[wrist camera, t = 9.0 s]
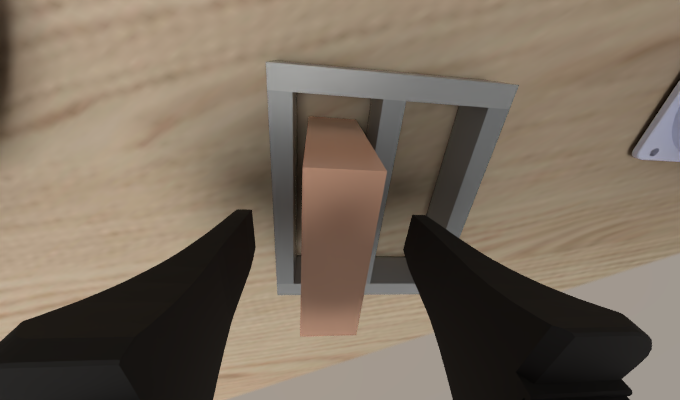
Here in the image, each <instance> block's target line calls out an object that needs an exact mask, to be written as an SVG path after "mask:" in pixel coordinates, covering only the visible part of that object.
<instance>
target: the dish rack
mask: <svg viewBox="0 0 680 400" xmlns="http://www.w3.org/2000/svg"><path fill="white" fill-rule="evenodd" d="M266 74H267V94H268V114H269V134H270V154H271V174H272V194H273V214H274V234H275V254H276V274H277V294H278V295H301V256H296V144H297V92H298V93H311V94H323V95H336V96H348V97H361V98H371V105H370V112H369V120H368V127H367V135H366V137H367V139H368V141H369V142H370V144H371V146H372V147H373V149H374V150H375V152H376V154H377V155H378V157H379V159H380V160H381V162H382V164H383V165H384V167H385V169H386V170H387V174H386V180H385V185H384V190H383V196H382V201H381V206H380V212H379V217H378V222H377V228H376V233H375V238H374V243H373V249H372V254H371V259H370V265H369V270H368V275H367V281H366V286H365V291H364V295H367V294H419V292H418V290H417V287H416V285H415V283H414V280H413V278H412V276H411V273H410V271H409V268H408V265H407V262H406V258H405V257H375V255H376V250H377V245H378V240H379V235H380V230H381V225H382V220H383V215H384V210H385V205H386V200H387V195H388V190H389V185H390V180H391V175H392V170H393V165H394V160H395V155H396V150H397V145H398V140H399V135H400V130H401V125H402V120H403V115H404V110H405V105H406V101H411V102H423V103H436V104H448V105H459V108H458V112H457V115H456V118H455V122H454V125H453V128H452V132H451V135H450V139H449V142H448V145H447V149H446V152H445V155H444V159H443V162H442V166H441V169H440V172H439V176H438V179H437V182H436V186H435V189H434V192H433V196H432V199H431V203H430V206H429V209H428V213H427V217H429V218H431V219H432V220H434V221H435V222H437V223H438V224H439V225H441V226H442V227H444V228H445V229H447V230H448V231H449V232H451V233H452V234H454V235H455V236H456V237H458V238H459V237H460V235H461V232H462V230H463V227H464V224H465V222H466V219H467V217H468V214H469V212H470V209H471V207H472V204H473V201H474V199H475V196H476V194H477V191H478V189H479V186H480V184H481V181H482V178H483V176H484V173H485V171H486V168H487V166H488V163H489V161H490V158H491V155H492V153H493V150H494V148H495V145H496V143H497V140H498V137H499V135H500V132H501V130H502V127H503V125H504V122H505V120H506V117H507V114H508V112H509V109H510V107H511V104H512V102H513V99H514V97H515V94H516V91H517V89H518V86H519V85H515V84H508V83H502V82H495V81H489V80H480V79H469V78H458V77H447V76H437V75H426V74H415V73H404V72H394V71H383V70H372V69H361V68H350V67H340V66H329V65H318V64H307V63H297V62H286V61H269V62H266Z"/></svg>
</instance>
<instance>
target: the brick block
mask: <svg viewBox="0 0 680 400" xmlns="http://www.w3.org/2000/svg"><path fill="white" fill-rule="evenodd" d="M386 174H387V170H386V169H385V167H384V165H383V164H382V162H381V160H380V159H379V157H378V155H377V154H376V152H375V150H374V149H373V147H372V146H371V144H370V142H369V141H368V139H367V137H366V136H365V134H364V132H363V131H362V129H361V127H360V126H359V124H358V122H357V121H356V120H354V119H340V118H326V117H311V116H309V118H308V127H307V135H306V143H305V152H304V160H303V177H302V247H301V318H300V336H340V335H356V334H357V328H358V323H359V318H360V312H361V307H362V302H363V297H364V291H365V286H366V281H367V275H368V270H369V265H370V259H371V254H372V249H373V243H374V238H375V233H376V228H377V222H378V217H379V212H380V206H381V201H382V196H383V190H384V185H385V180H386Z"/></svg>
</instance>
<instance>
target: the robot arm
mask: <svg viewBox="0 0 680 400" xmlns="http://www.w3.org/2000/svg"><path fill="white" fill-rule="evenodd" d="M632 156H633V157H634V158H637V159H640V160H656V161H673V162H680V80H679V82H678V83H677V85H676V86H675V88H674V89H673V91H672V92H671V94H670V95H669V97H668V98H667V100H666V101H665V103H664V104H663V106H662V107H661V109H660V110H659V112H658V113H657V115H656V116H655V118H654V119H653V121H652V122H651V124H650V125H649V127H648V128H647V130H646V131H645V133H644V134H643V136H642V137H641V139H640V140H639V142H638V143H637V145H636V146H635V148H634V149H633V151H632ZM403 250H404V254H405V258H406V262H407V265H408V268H409V271H410V273H411V276H412V278H413V280H414V283H415V285H416V287H417V290H418V292H419V294H420V297H421V299H422V301H423V303H424V306H425V308H426V310H427V313H428V315H429V318H430V321H431V324H432V327H433V330H434V333H435V336H436V339H437V342H438V346H439V349H440V352H441V356H442V360H443V363H444V367H445V371H446V374H447V378H448V382H449V386H450V390H451V394H452V397H453V400H629V398H628V397H627V396H630V395H631V394H632V390H631V389H630V388H629V387H628V386H627V385H626V384H625V382H624V381H623V380H622V378H623V377H624V376H626V375H627V374H628V373H629V372H630V371H631V370H633V369H634V368H635V367H636V366H637V365H639V364H640V363H641V362H642V361H643V360H644V359H645V358H646V357H647V356H648V355H649V352H650V351H651V349H652V348H651V347H652V340H651V339H650V337H649V336H648V335H647V334H646V333H645V332H643V331H642V330H641V329H640V328H639V327H638V326H636V325H635V324H634V323H633V322H632V321H631V320H629V319H628V318H627V317H626V316H624V315H623V314H621V313H619V312H616V311H613V310H610V309H607V308H604V307H601V306H598V305H595V304H592V303H589V302H586V301H583V300H581V299H578V298H575V297H573V296H570V295H567V294H565V293H562V292H560V291H557V290H555V289H552V288H550V287H548V286H545V285H543V284H540V283H538V282H536V281H534V280H532V279H530V278H527V277H525V276H523V275H521V274H519V273H517V272H515V271H513V270H511V269H509V268H507V267H505V266H503V265H502V264H500V263H498V262H496V261H494V260H492V259H491V258H489V257H487V256H486V255H484V254H482V253H481V252H479V251H478V250H476V249H474V248H473V247H471V246H470V245H468V244H467V243H465V242H464V241H462V240H461V239H459V238H458V237H456V236H455V235H454V234H452V233H451V232H449V231H448V230H447V229H445V228H444V227H442V226H441V225H439V224H438V223H437V222H435V221H434V220H432V219H431V218H429V217H427V216H426V215H412V219H411V222H410V226H409V230H408V234H407V237H406V241H405V245H404V249H403ZM254 252H255V237H254V227H253V217H252V210H239V209H237V210H236V211H234V212H233V213H232V214H231V215H229V216H228V217H227V218H226V219H224V220H223V221H222V222H221V223H219V224H218V225H217V226H216V227H214V228H213V229H212V230H210V231H209V232H208V233H207V234H205V235H204V236H202V237H201V238H199V239H198V240H197V241H195V242H194V243H192V244H191V245H189V246H188V247H187V248H185V249H184V250H182V251H180V252H179V253H177V254H176V255H174V256H172V257H171V258H169V259H167V260H165V261H164V262H162V263H160V264H159V265H157V266H155V267H153V268H151V269H149V270H147V271H145V272H143V273H141V274H139V275H137V276H135V277H133V278H131V279H129V280H127V281H125V282H123V283H121V284H118V285H116V286H114V287H112V288H109V289H107V290H105V291H102V292H100V293H98V294H95V295H93V296H90V297H88V298H86V299H83V300H80V301H78V302H75V303H73V304H70V305H67V306H64V307H62V308H59V309H56V310H53V311H51V312H48V313H45V314H42V315H40V316H37V317H34V318H31V319H28V320H25V321H23V322H21V323H20V324H19V325H18V326H17V327H16V328H15V329H14V330H13V331H12V332H10V333H9V334H8V335H7V336H6V337H5V338H4V339H3V340H2V341H1V342H0V400H213V397H214V392H215V388H216V383H217V379H218V374H219V370H220V366H221V362H222V357H223V353H224V349H225V345H226V341H227V337H228V333H229V329H230V326H231V322H232V319H233V316H234V313H235V310H236V307H237V305H238V302H239V299H240V297H241V294H242V291H243V288H244V286H245V283H246V280H247V277H248V275H249V272H250V269H251V265H252V261H253V257H254Z"/></svg>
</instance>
